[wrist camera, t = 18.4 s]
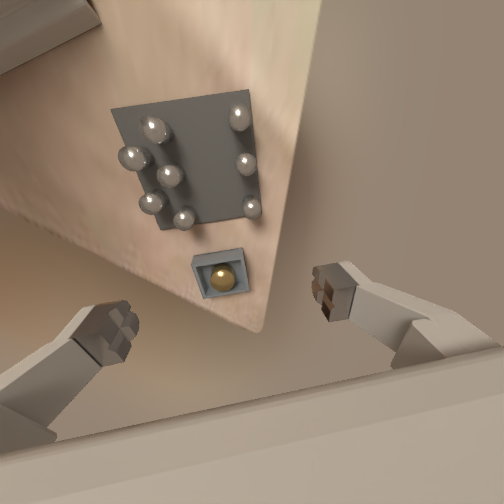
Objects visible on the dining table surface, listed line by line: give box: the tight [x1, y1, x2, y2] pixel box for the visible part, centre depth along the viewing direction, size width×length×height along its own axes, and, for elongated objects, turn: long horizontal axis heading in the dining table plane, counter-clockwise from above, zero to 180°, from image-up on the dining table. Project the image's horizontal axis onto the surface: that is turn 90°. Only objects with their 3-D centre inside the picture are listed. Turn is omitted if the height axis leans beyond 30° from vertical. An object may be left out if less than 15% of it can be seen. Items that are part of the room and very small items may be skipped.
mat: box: [110, 89, 262, 230], centre depth 27 cm, size 17×16×1 cm
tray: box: [191, 248, 250, 299], centre depth 35 cm, size 9×8×3 cm
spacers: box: [118, 102, 262, 231], centre depth 25 cm, size 16×14×4 cm
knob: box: [210, 263, 235, 291], centre depth 35 cm, size 4×4×3 cm
